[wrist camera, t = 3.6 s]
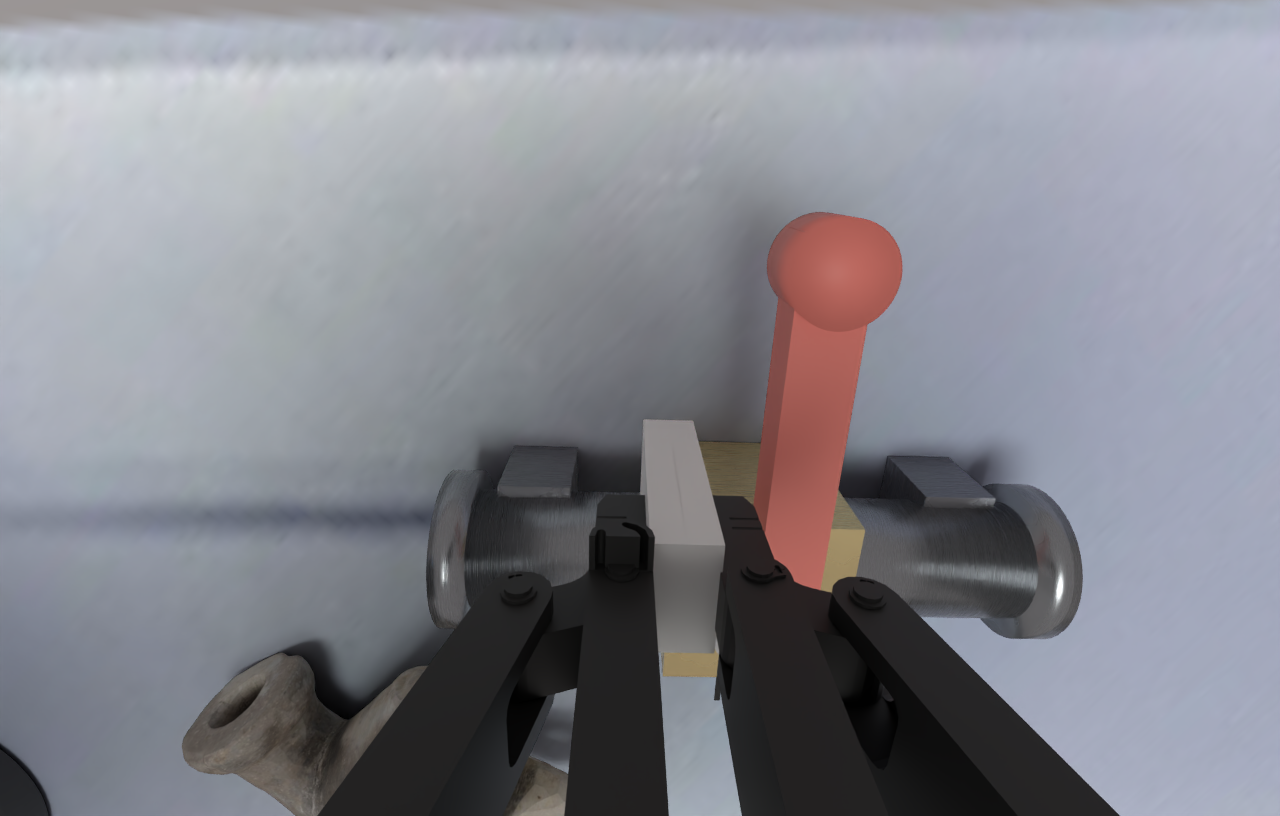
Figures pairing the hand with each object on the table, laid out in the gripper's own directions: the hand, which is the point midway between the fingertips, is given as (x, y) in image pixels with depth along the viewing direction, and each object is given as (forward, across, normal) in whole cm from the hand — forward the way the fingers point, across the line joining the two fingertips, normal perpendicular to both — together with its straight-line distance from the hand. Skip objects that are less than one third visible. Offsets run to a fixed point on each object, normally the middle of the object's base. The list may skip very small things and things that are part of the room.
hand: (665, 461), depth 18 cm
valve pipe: (+10, +4, -7) cm, 13 cm away
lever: (+2, +4, -1) cm, 5 cm away
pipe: (+10, -13, -20) cm, 26 cm away
